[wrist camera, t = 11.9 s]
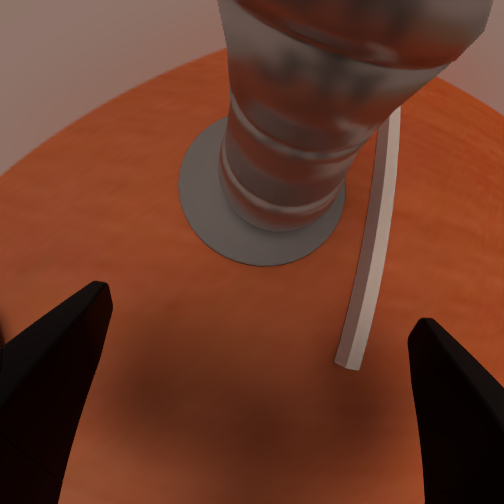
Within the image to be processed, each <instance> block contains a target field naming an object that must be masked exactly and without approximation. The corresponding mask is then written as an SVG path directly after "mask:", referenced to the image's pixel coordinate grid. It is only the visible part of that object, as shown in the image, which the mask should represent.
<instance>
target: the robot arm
mask: <svg viewBox="0 0 504 504" xmlns="http://www.w3.org/2000/svg"><path fill="white" fill-rule="evenodd" d="M112 311H113V303H112V298H111V294H110V289H109V285H108V284H107V283H106V282H100V281H93V282H91V283H90V284H88V285H87V286H85V287H84V288H82V289H81V290H79V291H78V292H76V293H75V294H74V295H72V296H71V297H69V298H68V299H66V300H65V301H64V302H62V303H61V304H59V305H58V306H56V307H55V308H54V309H52V310H51V311H49V312H48V313H47V314H45V315H44V316H43V317H41V318H40V319H38V320H37V321H36V322H34V323H33V324H32V325H30V326H29V327H28V328H26V329H25V330H24V331H22V332H21V333H20V334H18V335H17V336H16V337H14V338H13V339H12V340H10V341H9V342H8V343H6V344H5V345H4V346H3V348H2V347H1V348H0V504H58V501H59V496H60V492H61V487H62V483H63V482H62V481H63V478H64V474H65V470H66V466H67V462H68V458H69V455H70V451H71V447H72V444H73V440H74V437H75V433H76V430H77V427H78V423H79V420H80V417H81V414H82V410H83V407H84V404H85V401H86V398H87V395H88V392H89V389H90V386H91V383H92V380H93V377H94V375H95V372H96V369H97V366H98V363H99V360H100V357H101V353H102V350H103V345H104V341H105V337H106V334H107V330H108V326H109V322H110V319H111V315H112ZM408 351H409V361H410V372H411V383H412V390H413V397H414V403H415V409H416V415H417V422H418V430H419V438H420V446H421V455H422V466H423V478H424V494H425V504H504V388H503V387H502V386H501V384H500V383H499V382H498V381H497V380H496V379H495V378H494V377H493V376H492V375H491V374H490V373H489V372H488V371H487V370H486V369H485V368H484V367H483V366H482V365H481V364H480V363H479V362H478V361H477V360H476V359H475V358H474V357H473V356H472V355H471V354H470V353H469V352H468V351H467V350H466V349H465V348H464V347H463V346H462V345H461V344H460V343H459V342H457V341H456V340H455V339H454V338H453V337H452V336H451V335H450V334H449V333H448V332H447V331H446V330H445V329H444V328H443V327H442V326H441V325H439V324H438V323H437V322H436V321H435V320H434V319H432V318H421V319H419V320H418V322H417V324H416V325H415V327H414V328H413V330H412V331H411V333H410V335H409V337H408Z"/></svg>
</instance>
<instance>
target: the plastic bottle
mask: <svg viewBox="0 0 504 504" xmlns="http://www.w3.org/2000/svg"><path fill="white" fill-rule="evenodd" d="M217 1H218V5H219V10H220V15H221V20H222V25H223V30H224V35H225V40H226V45H227V57H228V72H229V81H230V107H229V114H228V121H227V128H226V131H225V133H224V136H223V139H222V143H221V146H220V151H219V156H218V167H217V171H218V177H219V183H220V185H221V188H222V191H223V193H224V195H225V197H226V198H227V200H228V202H229V203H230V205H231V206H232V208H233V210H234V211H235V212H236V213H237V214H238V215H239V216H240V217H241V218H242V219H244V220H245V221H247V222H248V223H249V224H251V225H253V226H256V227H258V228H260V229H263V230H268V231H272V232H286V231H291V230H296V229H298V228H301V227H304V226H306V225H309V224H311V223H313V222H315V221H316V220H318V219H319V218H321V217H322V216H323V215H324V214H325V213H326V212H327V211H328V210H329V209H330V208H331V206H332V205H333V203H334V201H335V200H336V198H337V196H338V194H339V192H340V190H341V188H342V186H343V183H344V180H345V176H346V173H347V171H348V169H349V167H350V166H351V164H352V162H353V160H354V159H355V157H356V155H357V153H358V152H359V150H360V148H361V147H362V146H363V145H364V144H365V143H366V141H367V140H368V139H369V138H370V137H371V136H372V134H373V133H374V132H375V131H376V130H377V129H378V128H379V127H380V126H381V125H382V124H383V123H384V122H385V121H386V120H387V118H388V117H389V116H390V115H391V114H392V113H393V112H394V111H395V110H396V109H397V108H398V107H399V106H401V105H402V104H403V103H404V102H405V101H407V100H408V99H409V98H410V97H411V96H413V95H414V94H415V93H416V92H417V91H419V90H420V89H421V88H422V87H423V86H425V85H426V84H427V83H428V82H429V81H431V80H432V79H433V78H434V77H435V76H437V75H438V74H439V73H440V72H441V71H443V70H444V69H445V68H446V67H447V66H448V65H449V64H450V63H451V62H453V61H455V60H456V59H457V58H458V57H459V56H460V55H461V54H462V53H463V52H464V51H465V50H466V49H467V48H468V47H469V46H470V45H471V44H472V43H473V42H474V41H475V40H476V39H477V38H478V37H479V36H480V35H481V34H482V33H483V32H484V30H485V26H486V23H487V20H488V17H489V14H490V10H491V6H492V4H493V0H217Z"/></svg>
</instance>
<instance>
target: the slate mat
mask: <svg viewBox="0 0 504 504" xmlns="http://www.w3.org/2000/svg"><path fill="white" fill-rule="evenodd" d="M227 121H228V116H227V117H225V118H223V119H221V120H218V121H217V122H215V123H214V124H212V125H210V126H209V127H208V128H206V129H205V130H204V131H203V132H202V133H201V134H200V135H199V136H198V137H197V138H196V139H195V140H194V142H193V143H192V144H191V146H190V147H189V149H188V151H187V153H186V155H185V157H184V159H183V162H182V165H181V169H180V174H179V185H178V186H179V197H180V201H181V206H182V208H183V211H184V214H185V216H186V218H187V220H188V222H189V224H190V226H191V227H192V229H193V230H194V231H195V233H196V234H197V235H198V237H199V238H200V239H201V240H202V241H203V242H204V243H205V244H206V245H208V246H209V247H210V248H212V249H213V250H214V251H215V252H217V253H219V254H221V255H222V256H224V257H226V258H228V259H231V260H233V261H236V262H239V263H243V264H247V265H254V266H276V265H283V264H286V263H290V262H293V261H296V260H298V259H300V258H302V257H304V256H306V255H308V254H309V253H311V252H313V251H314V250H315V249H317V248H318V247H319V246H320V245H321V244H323V243H324V242H325V240H326V239H327V238H328V237H329V236H330V235H331V233H332V232H333V230H334V229H335V227H336V226H337V224H338V221H339V219H340V217H341V214H342V211H343V207H344V201H345V181H344V183H343V186H342V188H341V190H340V192H339V194H338V196H337V198H336V200H335V201H334V203H333V205H332V206H331V208H330V209H329V210H328V211H327V212H326V213H325V214H324V215H323V216H322V217H321V218H319V219H318V220H316V221H315V222H313V223H311V224H309V225H306V226H304V227H301V228H298V229H296V230H291V231H286V232H272V231H268V230H263V229H260V228H258V227H256V226H253V225H251V224H249V223H248V222H247V221H245V220H244V219H242V218H241V217H240V216H239V215H238V214H237V213H236V212H235V211H234V210H233V208H232V206H231V205H230V203H229V202H228V200H227V198H226V197H225V195H224V193H223V191H222V188H221V185H220V183H219V177H218V171H217V167H218V156H219V151H220V146H221V143H222V139H223V136H224V133H225V131H226V128H227Z"/></svg>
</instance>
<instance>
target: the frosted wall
mask: <svg viewBox="0 0 504 504" xmlns="http://www.w3.org/2000/svg"><path fill="white" fill-rule="evenodd" d="M400 107H401V106H399V107H398V108H397V109H396V110H395V111H394V112H393V113H392V114H391V115H390V116H389V117H388V118H387V120H386V121H385V122H384V123H383V124H382V125H381V126H380V127H379V128H378V137H377V146H376V155H375V163H374V171H373V179H372V186H371V193H370V200H369V206H368V212H367V218H366V224H365V230H364V236H363V241H362V246H361V252H360V257H359V262H358V267H357V271H356V276H355V281H354V285H353V290H352V294H351V299H350V303H349V307H348V311H347V315H346V319H345V323H344V327H343V331H342V335H341V339H340V343H339V346H338V350H337V354H336V357H335V361H334V363H336V364H338V365H340V366H342V367H344V368H346V369H352V370H357V371H359V369H360V366H361V362H362V359H363V355H364V351H365V348H366V344H367V340H368V336H369V332H370V328H371V324H372V320H373V315H374V311H375V307H376V302H377V297H378V293H379V288H380V283H381V278H382V273H383V267H384V262H385V256H386V250H387V244H388V238H389V231H390V225H391V218H392V210H393V202H394V193H395V184H396V174H397V163H398V149H399V133H400Z"/></svg>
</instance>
